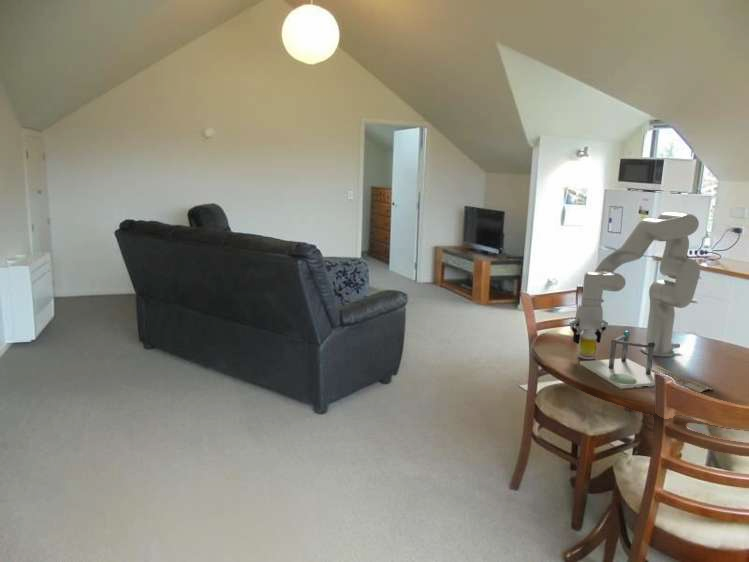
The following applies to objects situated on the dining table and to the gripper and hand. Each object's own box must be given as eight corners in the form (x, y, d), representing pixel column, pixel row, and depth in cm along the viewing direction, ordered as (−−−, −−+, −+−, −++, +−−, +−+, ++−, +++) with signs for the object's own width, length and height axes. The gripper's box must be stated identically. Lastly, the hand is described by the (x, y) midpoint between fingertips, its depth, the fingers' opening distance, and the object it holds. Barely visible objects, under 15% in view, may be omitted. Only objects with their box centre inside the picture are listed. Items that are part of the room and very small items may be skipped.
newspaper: (713, 392, 186) (714, 388, 186) (698, 395, 184) (698, 390, 184) (660, 369, 208) (660, 365, 208) (645, 371, 206) (646, 367, 206)
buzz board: (625, 360, 215) (626, 357, 215) (671, 384, 191) (672, 380, 191) (580, 364, 211) (580, 360, 211) (620, 388, 187) (621, 384, 187)
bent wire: (624, 360, 213) (627, 329, 210) (653, 374, 197) (657, 342, 195) (597, 361, 210) (600, 331, 208) (624, 377, 195) (628, 344, 192)
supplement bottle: (596, 360, 215) (599, 330, 213) (579, 359, 217) (582, 329, 214) (593, 355, 222) (596, 326, 219) (576, 354, 223) (579, 324, 221)
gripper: (604, 299, 220) (599, 338, 223) (567, 300, 216) (562, 340, 220) (615, 304, 213) (610, 344, 216) (577, 304, 209) (573, 345, 212)
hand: (586, 342), depth 218 cm, fingers open, 9 cm apart
